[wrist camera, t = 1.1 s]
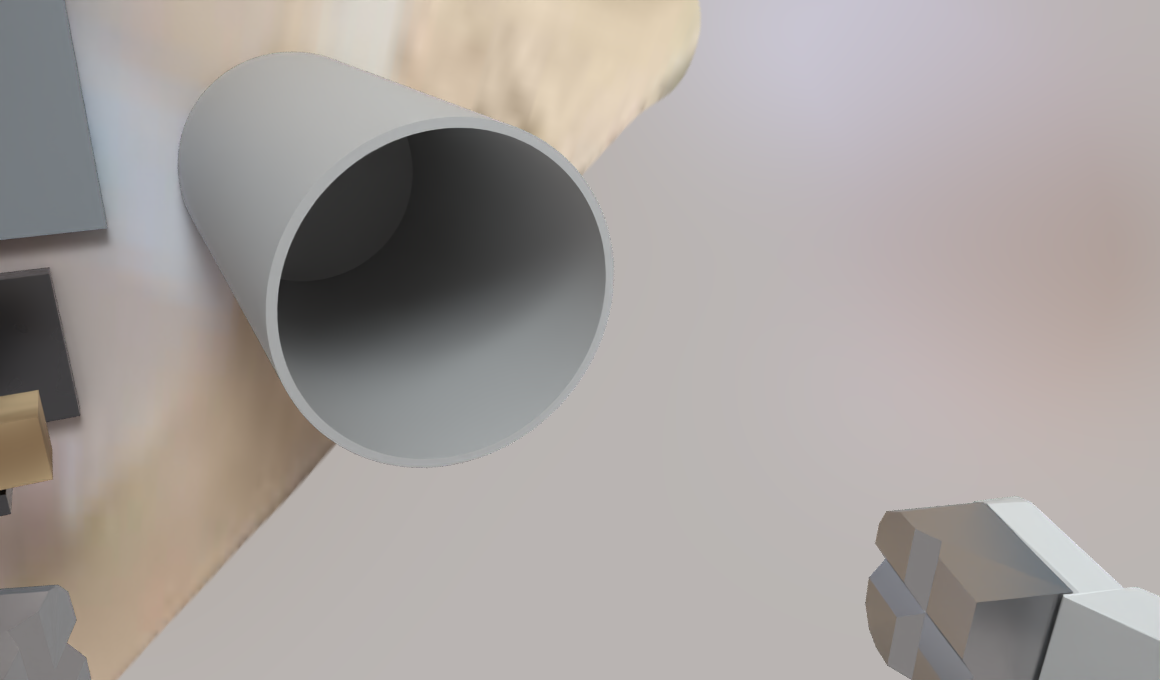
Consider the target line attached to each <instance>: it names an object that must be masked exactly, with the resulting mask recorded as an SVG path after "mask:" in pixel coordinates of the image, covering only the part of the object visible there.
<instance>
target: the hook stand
mask: <svg viewBox="0 0 1160 680" xmlns="http://www.w3.org/2000/svg"><path fill="white" fill-rule="evenodd" d="M35 390H39V394H40V399H41V403H42V407H43V412H44V416H45V420H46V422H49V421H54V420H60V419H65V418H71V417H76V416H80V407H79V402H78V398H77V393H76V388H75V384H74V379H73V374H72V370H71V365H70V361H69V356H68V351H67V347H66V342H65V338H64V333H63V328H62V324H61V319H60V314H59V310H58V305H57V301H56V296H55V291H54V287H53V282H52V278H51V273H50V268H49V267H48V268H40V269H32V270H24V271H16V272H8V273H0V396H6V395H12V394H18V393H24V392H30V391H35ZM12 489H13V488H9V489H4V490H0V516H3V515H8V514H11V505H12Z"/></svg>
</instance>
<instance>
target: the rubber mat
mask: <svg viewBox="0 0 1160 680" xmlns="http://www.w3.org/2000/svg"><path fill="white" fill-rule="evenodd" d="M106 228H107V223H106V218H105V213H104V208H103V202H102V197H101V192H100V186H99V181H98V176H97V171H96V165H95V160H94V155H93V149H92V144H91V139H90V134H89V128H88V123H87V118H86V113H85V107H84V102H83V97H82V91H81V86H80V81H79V76H78V70H77V65H76V60H75V54H74V49H73V44H72V39H71V33H70V28H69V23H68V17H67V12H66V7H65V2H64V0H0V240H5V239H14V238H23V237H32V236H42V235H51V234H60V233H69V232H78V231H87V230H96V229H106Z"/></svg>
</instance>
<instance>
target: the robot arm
mask: <svg viewBox="0 0 1160 680" xmlns="http://www.w3.org/2000/svg"><path fill="white" fill-rule="evenodd" d="M875 544H876V545H877V547H878V548H879V550H880V551H881V553H882V554H883V556H884V557H885V560H884V561H883V562H882V564H881V565H880V566H879V567H878V568H877V569H876V570H875V571H874V572H873V574H872V575H871V576H870V577H869V581H868V588H867V595H866V602H865V603H866V611H867V618H868V625H869V630H870V633H871V635H872V638H873V641H874V643H875V646H876V648H877V649H878V651H879V653H880V654H881V656H882V657H883V659H884V661H885V662H886V664H887V666H889V667H891V668H893V669H894V670H896V671H898V672H899V673H901V674H903V675H904V676H906V677H908V678H909V679H911V680H1160V596H1158V595H1155V594H1153V593H1151V592H1148V591H1146V590H1143V589H1141V588H1138V587H1132V588H1123V587H1122V586H1121V585H1120V584H1119V583H1118V582H1116V580H1114V579H1113V578H1112V577H1111V576H1110V575H1109V574H1108V573H1107V572H1106V571H1105V570H1104V569H1103V568H1102V567H1100V566H1099V565H1098V564H1097V563H1096V562H1095V561H1094V560H1093V559H1092V558H1091V557H1090V556H1089V555H1088V554H1087V553H1085V552H1084V551H1083V550H1082V549H1081V548H1080V547H1079V546H1078V545H1077V544H1076V543H1075V542H1074V541H1073V540H1071V539H1070V538H1069V537H1068V536H1067V535H1066V534H1065V533H1064V532H1063V531H1062V530H1061V529H1059V528H1058V527H1057V526H1056V525H1055V524H1054V523H1053V522H1052V521H1051V520H1050V519H1049V518H1048V517H1047V516H1046V515H1045V514H1044V513H1042V512H1041V511H1040V510H1039V509H1038V508H1037V507H1036V506H1035V505H1034V504H1033V503H1032V502H1030V501H1028V500H1025V499H1023V498H1020V497H1018V496H1014V497H1006V498H998V499H990V500H980V501H974V502H973V503H968V504H957V505H947V506H936V507H927V508H916V509H905V510H894V511H886V513H885V515H884V516H883V518H882V520H881V521H880V523H879V527H878V532H877V537H876V542H875ZM75 623H76V616H75V613H74V609H73V606H72V603H71V599H70V596H69V593H68V591H66V590H65V589H64V588H62V587H61V586H59V585H48V586H34V587H20V588H5V589H0V680H91V676H90V672H89V668H88V663H87V659H86V657H85V656H83V655H82V654H81V653H80V652H78V651H77V650H76V649H74V648H73V647H72V646H70V645H69V644H68V643H67V641H68V639H69V636H70V634H71V632H72V630H73V627H74V625H75Z"/></svg>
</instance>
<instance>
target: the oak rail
mask: <svg viewBox="0 0 1160 680" xmlns="http://www.w3.org/2000/svg"><path fill="white" fill-rule="evenodd" d="M52 479H53V465H52V446H51V442H50V437H49V433H48V429H47V425H46V420H45V416H44V412H43V407H42V403H41V399H40V394H39V390H35V391H30V392H24V393H18V394H12V395H6V396H0V490H4V489H9V488H14V487H19V486H23V485H28V484H33V483H38V482H43V481H47V480H52Z"/></svg>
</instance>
